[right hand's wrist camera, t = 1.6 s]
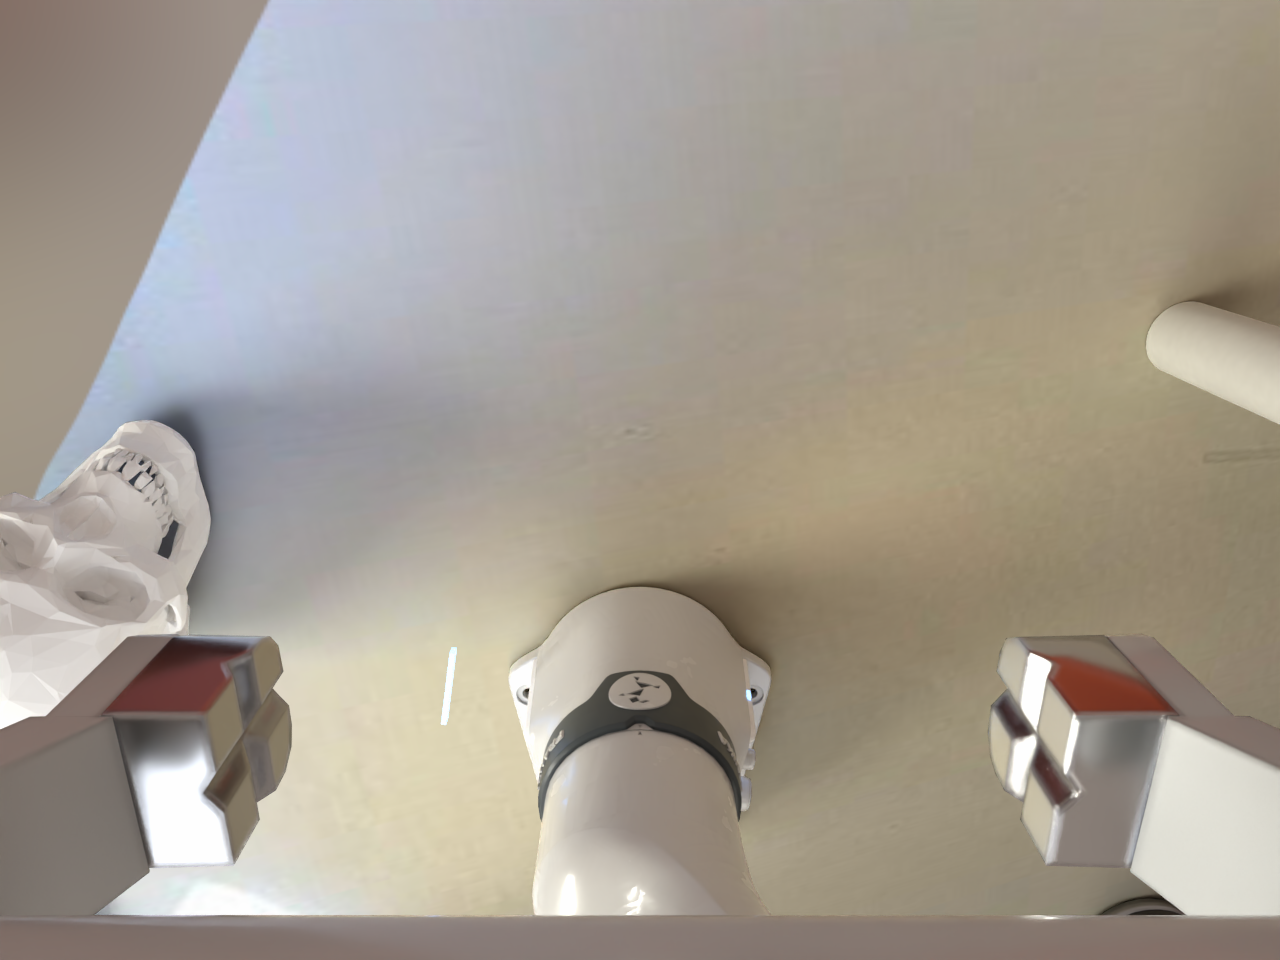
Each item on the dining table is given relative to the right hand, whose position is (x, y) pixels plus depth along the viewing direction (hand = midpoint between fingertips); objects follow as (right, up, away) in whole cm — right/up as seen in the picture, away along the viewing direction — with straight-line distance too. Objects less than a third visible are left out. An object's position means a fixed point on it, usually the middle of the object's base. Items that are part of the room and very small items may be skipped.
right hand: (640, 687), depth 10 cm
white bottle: (+34, +11, +47) cm, 59 cm away
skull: (-35, -3, +52) cm, 63 cm away
